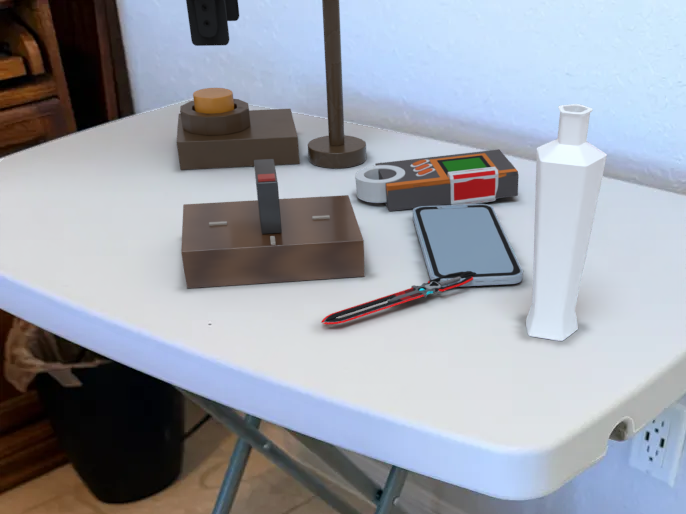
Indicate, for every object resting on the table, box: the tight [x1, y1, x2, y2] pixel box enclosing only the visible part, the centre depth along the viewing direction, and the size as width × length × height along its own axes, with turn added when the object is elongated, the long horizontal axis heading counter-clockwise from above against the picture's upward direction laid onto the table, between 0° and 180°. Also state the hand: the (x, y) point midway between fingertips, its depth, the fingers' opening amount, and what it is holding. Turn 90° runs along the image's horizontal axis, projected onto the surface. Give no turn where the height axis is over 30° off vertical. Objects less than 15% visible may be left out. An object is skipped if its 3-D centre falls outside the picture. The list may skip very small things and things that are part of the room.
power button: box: [192, 87, 235, 114], centre depth 94 cm, size 4×4×2 cm
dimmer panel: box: [180, 194, 366, 289], centre depth 76 cm, size 14×10×3 cm
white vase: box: [525, 103, 608, 342], centre depth 62 cm, size 5×4×15 cm
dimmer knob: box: [253, 159, 282, 234], centre depth 74 cm, size 6×2×4 cm, turn 9°
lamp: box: [307, 0, 367, 169], centre depth 88 cm, size 8×8×26 cm
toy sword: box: [320, 271, 476, 325], centre depth 70 cm, size 2×14×1 cm, turn 124°
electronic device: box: [354, 149, 520, 212], centre depth 87 cm, size 7×3×15 cm
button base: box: [176, 98, 301, 171], centre depth 96 cm, size 12×10×4 cm
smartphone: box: [412, 203, 524, 288], centre depth 78 cm, size 7×1×15 cm
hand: (217, 31), depth 84 cm, fingers open, 9 cm apart
